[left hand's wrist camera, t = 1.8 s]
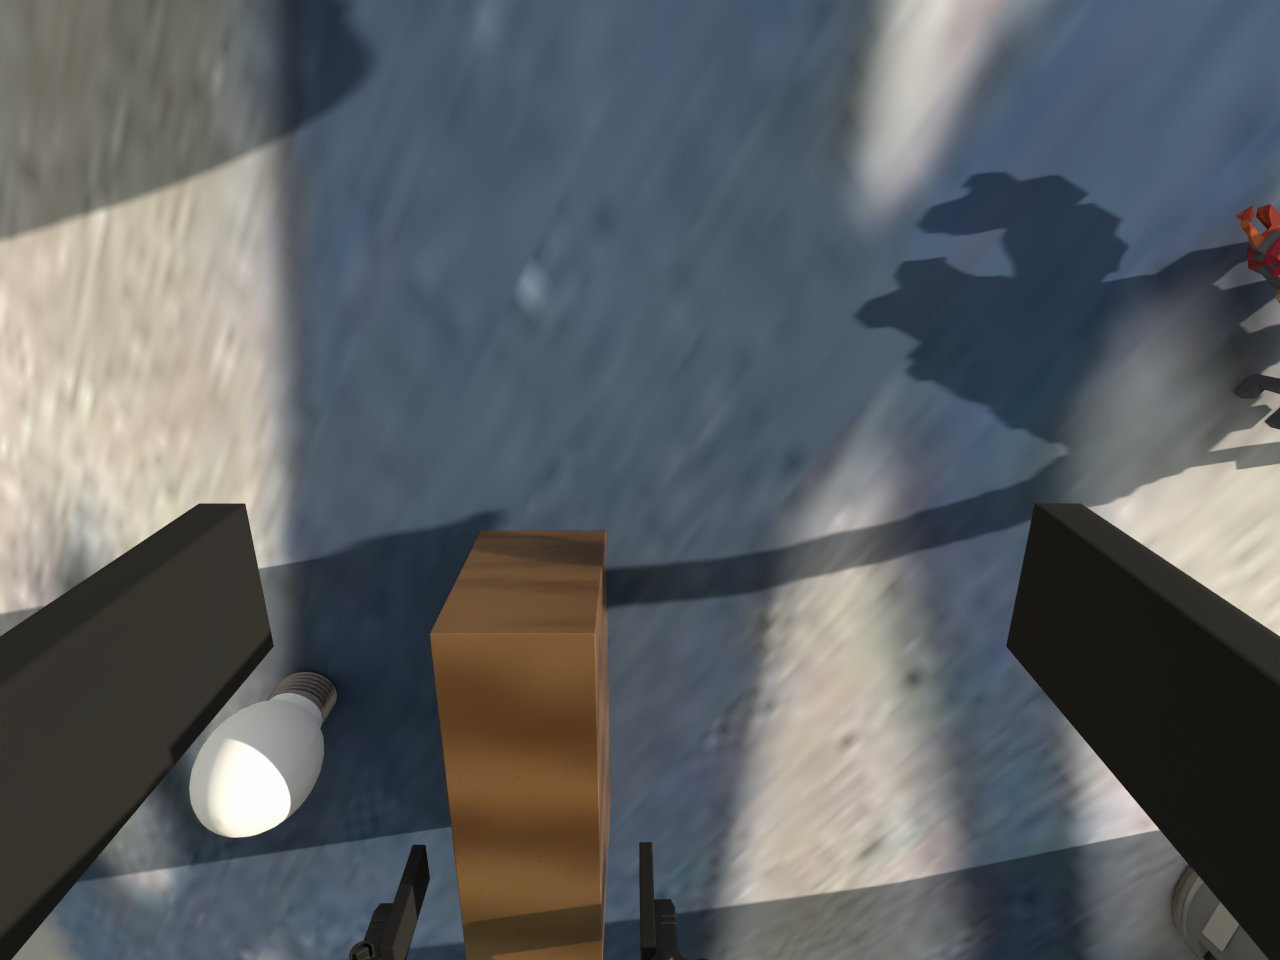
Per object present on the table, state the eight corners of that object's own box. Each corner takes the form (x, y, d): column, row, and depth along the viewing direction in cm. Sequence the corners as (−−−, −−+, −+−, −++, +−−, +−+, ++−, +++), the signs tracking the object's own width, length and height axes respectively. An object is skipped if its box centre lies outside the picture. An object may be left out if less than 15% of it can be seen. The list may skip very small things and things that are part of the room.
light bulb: (324, 640, 49) (240, 755, 38) (375, 718, 51) (308, 847, 41) (237, 673, 50) (132, 795, 39) (291, 748, 52) (204, 882, 41)
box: (480, 530, 46) (429, 633, 35) (606, 530, 46) (595, 633, 35) (502, 803, 54) (466, 960, 43) (610, 803, 54) (602, 960, 43)
